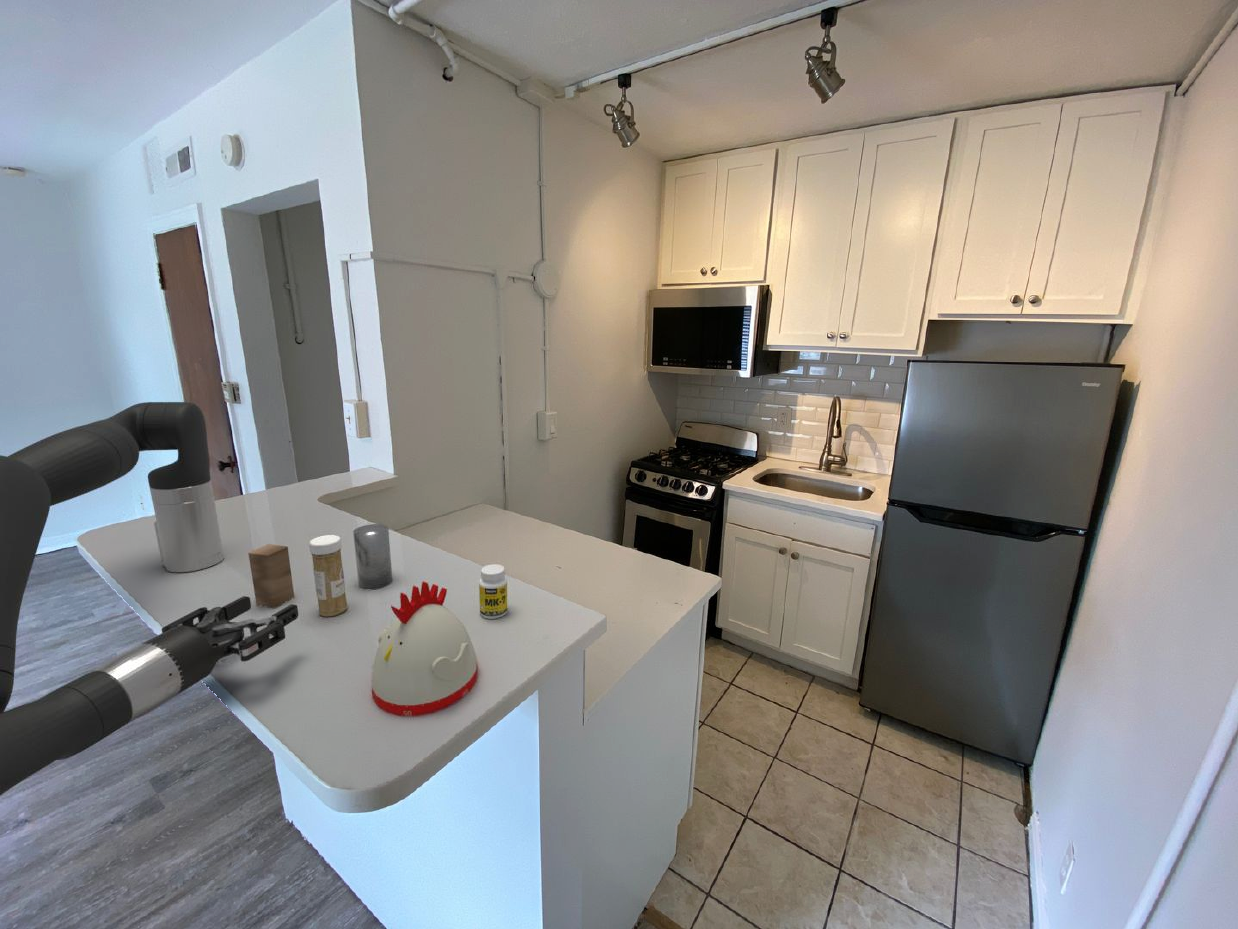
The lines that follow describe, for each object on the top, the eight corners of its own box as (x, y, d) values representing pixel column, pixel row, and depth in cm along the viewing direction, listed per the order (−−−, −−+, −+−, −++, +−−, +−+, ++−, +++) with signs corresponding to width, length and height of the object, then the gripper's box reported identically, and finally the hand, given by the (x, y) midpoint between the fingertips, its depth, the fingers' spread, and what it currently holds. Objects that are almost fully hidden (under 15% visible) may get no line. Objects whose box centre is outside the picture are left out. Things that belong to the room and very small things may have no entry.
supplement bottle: (483, 622, 85) (481, 577, 83) (477, 609, 89) (475, 566, 87) (510, 616, 87) (509, 572, 85) (503, 603, 91) (502, 561, 89)
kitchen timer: (351, 689, 68) (340, 590, 64) (434, 640, 80) (429, 554, 76) (416, 732, 61) (408, 623, 57) (497, 672, 73) (495, 578, 69)
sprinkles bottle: (349, 613, 86) (341, 541, 83) (318, 620, 84) (309, 546, 81) (346, 601, 90) (339, 532, 87) (317, 608, 87) (308, 537, 84)
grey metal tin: (351, 587, 95) (345, 533, 92) (372, 573, 101) (368, 522, 98) (378, 591, 94) (374, 537, 91) (399, 577, 100) (395, 526, 97)
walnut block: (256, 605, 88) (248, 552, 85) (276, 594, 92) (268, 544, 89) (275, 608, 87) (267, 555, 85) (294, 597, 91) (287, 546, 88)
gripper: (195, 655, 57) (309, 589, 72) (100, 636, 60) (229, 576, 75) (206, 711, 59) (315, 635, 74) (113, 690, 61) (236, 621, 77)
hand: (271, 605), depth 75 cm, fingers open, 8 cm apart
